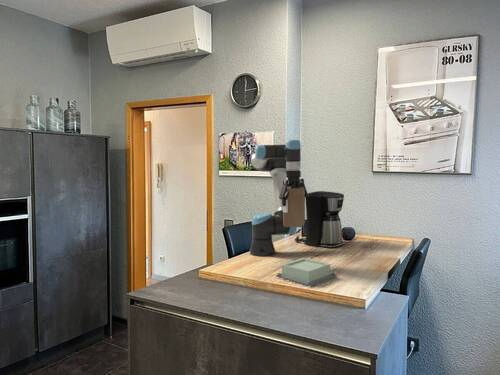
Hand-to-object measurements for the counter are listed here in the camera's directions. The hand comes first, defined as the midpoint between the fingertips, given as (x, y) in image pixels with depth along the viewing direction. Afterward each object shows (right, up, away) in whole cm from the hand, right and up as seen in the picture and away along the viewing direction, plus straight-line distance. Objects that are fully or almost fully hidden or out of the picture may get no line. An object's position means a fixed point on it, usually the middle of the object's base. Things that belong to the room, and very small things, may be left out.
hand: (294, 210), depth 205 cm
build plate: (+4, -30, -20) cm, 36 cm away
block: (0, -8, +1) cm, 8 cm away
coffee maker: (+24, -24, +52) cm, 62 cm away
